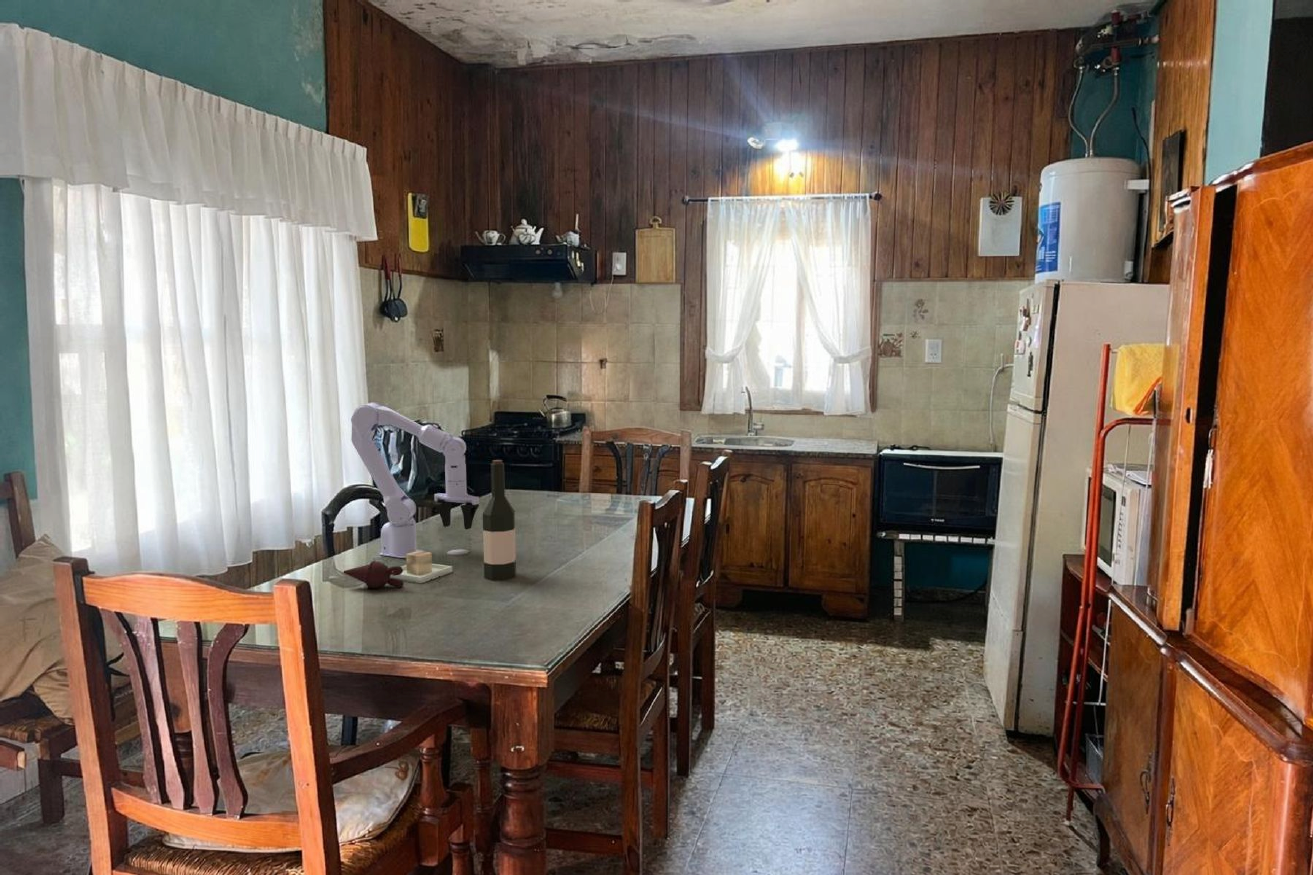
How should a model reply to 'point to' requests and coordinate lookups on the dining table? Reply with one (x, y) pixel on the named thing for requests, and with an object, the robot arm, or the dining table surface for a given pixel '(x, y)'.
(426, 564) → the block
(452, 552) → the pad
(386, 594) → the dining table surface
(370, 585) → the icecream
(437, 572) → the tray
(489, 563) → the wine bottle
